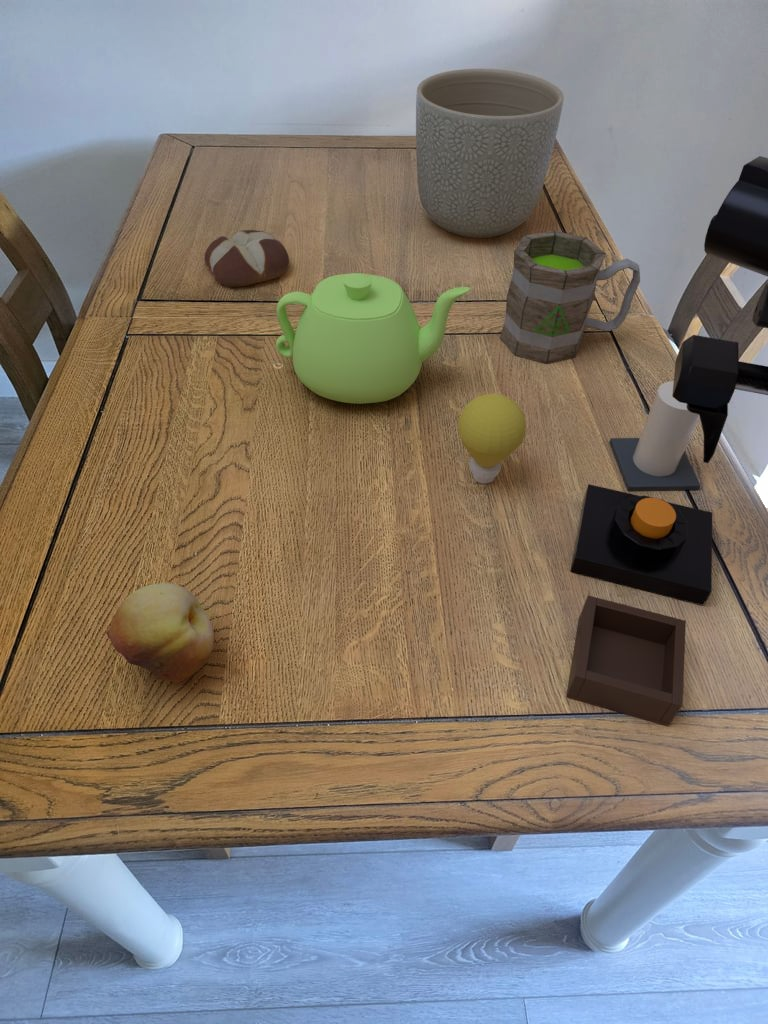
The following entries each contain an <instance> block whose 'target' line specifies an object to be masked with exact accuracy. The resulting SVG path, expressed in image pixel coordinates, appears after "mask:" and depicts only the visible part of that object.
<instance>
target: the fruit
mask: <svg viewBox="0 0 768 1024" xmlns="http://www.w3.org/2000/svg"><path fill="white" fill-rule="evenodd" d="M109 626H110V627H109V628H108V630H107V631H106V635H107V636H108V638H109V641H110V642H111V645H112V646H113V649H115V651H116V653H118V654H121V656H122V657H124V659H125V660H126V662H127V663H128V664H130V665H133V666H137V667H140V668H143V669H146V670H148V671H150V672H151V673H152V674H153V675H154V676H155V678H156V679H157V680H159V681H168V682H172V683H178V682H179V683H180V682H182V681H184V680H185V679H188V678H190V677H191V676H193V675H194V674H195V673H197V672H199V670H200V669H202V668H203V666H204V665H205V664H206V662H207V661H208V659H209V658H210V655H211V653H212V651H213V647H214V642H215V641H214V640H215V632H214V626H213V624H212V622H211V620H210V618H209V616H208V614H207V613H206V611H205V610H204V607H203V606H202V605H201V603H200V601H199V600H198V598H197V596H195V595H194V594H193V592H191V591H190V590H189V589H187V588H186V587H184V586H181V585H178V584H175V583H168V582H159V583H158V582H157V583H152V584H149V585H145V586H143V587H140V588H138V589H136V590H135V591H133V592H131V593H130V594H129V595H128V596H127V597H126V598H124V600H122V602H121V603H120V604H119V606H118V607H117V609H116V612H115V614H114V615H113V619H112V622H111V624H110V625H109Z"/></svg>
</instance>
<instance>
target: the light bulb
mask: <svg viewBox="0 0 768 1024" xmlns="http://www.w3.org/2000/svg"><path fill="white" fill-rule="evenodd" d="M457 433H458V436H459V439H460V440H461V442H462V444H463V447H464V448H465V450H466V452H467V453H468V454H469V456H470V460H469V470H470V472H471V473H472V477H473V480H474V481H476V483H479V484H485V485H486V484H490V483H492V482H493V481H494V480H495V478H496V477H497V476H498V475H499V474H500V472H501V468H502V462H503V461H505V460H507V459H508V457H510V456H511V455H512V454H513V452H515V451H516V450H517V449H518V448H519V447H520V446H521V445H522V444H523V441H524V439H525V436H526V434H527V425H526V417H525V414H524V412H523V410H522V409H521V407H520V406H519V404H518V403H517V402H515V400H513V399H512V398H511V397H508V396H506V395H504V394H500V393H491V392H490V393H485V394H482V395H479V396H476V397H474V398H473V399H472V400H471V401H469V402H468V403H467V404H466V405H465V407H464V408H463V409H462V411H461V413H460V416H459V417H458V422H457Z"/></svg>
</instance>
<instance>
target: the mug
mask: <svg viewBox="0 0 768 1024" xmlns="http://www.w3.org/2000/svg"><path fill="white" fill-rule="evenodd" d="M606 255H607V254H606V252H605V251H604V250H603V249H601V247H600V246H597V244H596V243H594V242H593V241H592V240H591V239H590V238H588V237H585V236H582V235H577V234H572V233H567V232H563V231H559V230H558V231H557V230H550V231H545V232H540V233H538V232H537V233H533V234H532V233H531V234H527V235H524V236H523V237H522V238H521V240H520V241H519V242H518V244H517V246H516V247H515V249H514V251H513V267H512V274H511V281H510V284H509V287H508V291H507V294H506V295H507V296H506V303H505V304H506V306H505V316H504V322H503V327H502V330H501V333H500V336H499V339H500V340H501V341H502V342H503V344H504V345H505V346H506V347H507V348H508V349H509V351H510V352H511V353H512V354H513V355H514V356H516V357H519V358H523V359H527V360H531V361H534V362H538V363H540V364H541V363H542V364H545V365H549V364H552V363H556V362H557V363H558V362H561V361H566V360H570V359H574V358H576V357H577V354H578V352H579V350H580V348H581V346H582V343H583V341H584V334H585V328H589V329H590V328H591V329H595V330H600V331H603V332H609V331H613V330H617V329H618V328H619V327H620V326H621V325H622V324H623V322H624V321H625V320H626V318H627V316H628V313H629V311H630V308H631V305H632V303H633V299H634V296H635V294H636V292H637V289H638V287H639V285H640V283H641V272H640V269H641V268H640V265H639V264H638V263H637V262H636V261H633V260H631V259H629V258H624V259H620V260H616V261H615V262H613V263H612V264H610V265H609V266H607V267H606V268H605V269H601V267H602V265H603V262H604V261H605V257H606ZM626 269H629V270H631V271H632V278H631V279H630V282H629V284H628V286H627V289H626V290H625V293H624V296H623V300H622V302H621V305H620V309H619V312H618V313H617V315H615V317H614V318H613V319H612V320H609V321H604V320H600V319H598V318H593V317H588V315H589V313H590V310H591V308H592V305H593V302H594V300H595V293H596V287H597V282H598V281H607V280H609V279H610V278H612V277H613V276H615V275H616V274H617V273H619V272H620V271H624V270H626Z"/></svg>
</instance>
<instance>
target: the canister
mask: <svg viewBox="0 0 768 1024" xmlns="http://www.w3.org/2000/svg"><path fill="white" fill-rule="evenodd" d="M673 384H674V380H668V381H666V382H663V383H661V384H660V385H659V386H658V388H657V390H656V394H655V396H654V399H653V401H652V404H651V407H650V409H649V413H648V415H647V418H646V420H645V423H644V425H643V428H642V430H641V433H640V436H639V437H638V438H639V441H638V444H637V446H636V449H635V452H634V454H633V461H634V463H635V465H636V466H637V467H638V468H639V469H640V470H641V471H643V472H645V473H647V474H649V475H652V476H659V477H662V476H668V475H670V474H672V473H674V472H675V470H676V468H677V466H678V464H679V462H680V459H681V457H682V455H683V453H684V451H685V450H686V448H687V446H688V444H689V441H690V439H691V437H692V435H693V433H694V431H695V428H696V426H697V424H698V421H699V420H700V416H699V414H696V413H692V412H690V411H688V409H687V404H686V403H681V402H679V401H677V400H676V399H675V398H674V397H672V394H673Z"/></svg>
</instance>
